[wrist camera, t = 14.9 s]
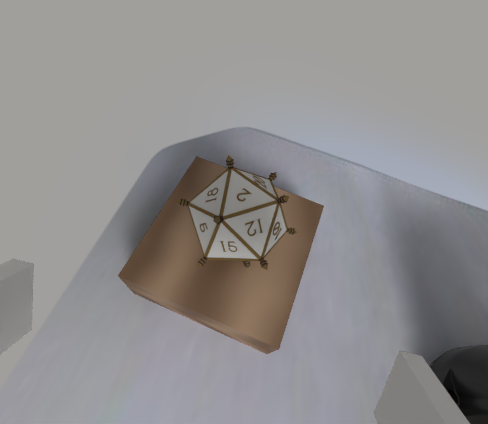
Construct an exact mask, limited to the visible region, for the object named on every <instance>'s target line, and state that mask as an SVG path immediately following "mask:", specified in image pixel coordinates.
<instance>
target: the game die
mask: <svg viewBox="0 0 488 424" xmlns="http://www.w3.org/2000/svg"><path fill="white" fill-rule="evenodd" d="M226 162H227V165H228V168H227V169H226V170H225V171H224V172H223V173H221V174H220V175H219V176H217V178H216V179H214V180H213V181H212V182H211V183H210V184H209V185H207V186H206V187H205V188H204V189H203V190H201V191H200V192H199V193H198V194H197V195H196V196H194V197H193V198H192V199H191V200H190V201H186V200H184V199H179V200H176V201H177V202H178V203H179V204H180V205H183V206H184V205H187V206H188V209H189V212H190V215H191V219H192V222H193V225H194V228H195V231H196V234H197V237H198V240H199V243H200V247H201V250H202V253H203V256H204V257H203V258H202V259H200V261H198V266H197V268H198V267H201V266H204V264H206V263H205V262H206V260H207V259H209V260H235V261H244V266H246V267H247V268H249V266H250V261H260V265H261V267H262V268H263V269H265V270H267V268H268V263H267V261H265V260H264V258H265V257H266V255H267V254H268V253H269V252H270V251H271V250H272V248H273V247H274V246H275V245H276V244H277V243H278V241H279V240H280V239H281V238H282V237H283V236H284V234H285V233H286V232H288V233H289V234H292V235H293V234H295V233H297V231H296V230H295V228H288V227H287V223H286V219H285V216H284V212H283V209H282V205H281V203H285V202H286V203H287V201H288V199H289V197H288V196H285V195H283V196H281V197H280V198H279V197H278V194H277V192H276V190H275V188H274V185H273V183H272V180H274V179H275V178H276V173H271V175H269V178H268V179H267V178H264V177H261V176H258V175H255V174H252V173H249V172H246V171H243V170H240V169H237V168H234V167H233V164H234V163H233V159H232V158H231V157H230V156H229V155H228V158H227V160H226Z"/></svg>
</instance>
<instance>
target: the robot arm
mask: <svg viewBox="0 0 488 424" xmlns="http://www.w3.org/2000/svg"><path fill="white" fill-rule="evenodd" d="M33 270H34V264H33V263H28V262H24V261H20V260H16V259H12V260H10V261H7V262H5V263H3V264H1V265H0V355H1V354H2V353H3V352H4V351H6V350H7V349H8V348H9V347H10V346H12V345H13V344H14V343H15V342H17V341H18V340H19V339H20V338H22V337H23V336H24V335H25V334H27V333H28V332H29V331H30V330H31V329H32V302H33V298H32V297H33ZM374 414H375V417H376V419H377V422H378V424H488V345H478V346H470V347H462V348H457V349H453V350H451V351H449V352H446V353H445V354H443V355H442V356H440V357H439V358H438V359H437V360H436V361H435V362H434V363H433V364H432V365H431V366H430V367H429V365H428V364H427V362H426V361H425V360H424V358H423V357H422V356H420V355H416V354H412V353H408V352H403V351H399V354H398V356H397V359H396V361H395V363H394V366H393V368H392V371H391V373H390V375H389V378H388V380H387V382H386V385H385V387H384V390H383V392H382V394H381V397H380V399H379V402H378V404H377V406H376V409H375V411H374Z"/></svg>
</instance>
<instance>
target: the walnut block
mask: <svg viewBox="0 0 488 424" xmlns="http://www.w3.org/2000/svg"><path fill="white" fill-rule="evenodd" d="M226 169H227V168H225V167H223V166H220V165H218V164H215V163H212V162H210V161H207V160H205V159H202V158H200V157H197V156H196V158H195V159H194V161H193V163H192V164H191V166H190V167H189V169H188V170H187V172H186V173H185V175H184V176H183V178H182V179H181V181H180V182H179V184H178V185H177V187H176V188H175V190H174V191H173V193H172V194H171V196H170V197H169V199H168V201H167V202H166V204H165V205H164V207H163V208H162V210H161V211H160V213H159V214H158V216H157V217H156V219H155V220H154V222H153V223H152V225H151V226H150V228H149V229H148V231H147V232H146V234H145V235H144V237H143V239H142V240H141V242H140V243H139V245H138V246H137V248H136V249H135V251H134V252H133V254H132V255H131V257H130V258H129V260H128V261H127V263H126V264H125V266H124V267H123V269H122V270H121V272H120V273H119V275H118V276H119V277H120V279H121V280H122V281H123V282H124V283H125V284H126V285H127V286H128V287H129V288H130V290H131V291H132V292H133V293H135V294H137V295H139V296H141V297H143V298H145V299H148V300H150V301H152V302H154V303H156V304H158V305H161V306H163V307H165V308H167V309H169V310H172V311H174V312H176V313H178V314H180V315H182V316H185V317H187V318H189V319H191V320H193V321H196V322H198V323H200V324H202V325H204V326H206V327H209V328H211V329H213V330H215V331H217V332H220V333H222V334H224V335H226V336H228V337H230V338H233V339H235V340H237V341H239V342H241V343H244V344H246V345H248V346H250V347H252V348H254V349H257V350H259V351H261V352H263V353H265V354H269V353H271V352H273V351H275V350H278V349H279V347H280V344H281V341H282V338H283V334H284V331H285V328H286V325H287V322H288V319H289V315H290V312H291V309H292V306H293V303H294V299H295V296H296V293H297V290H298V287H299V284H300V280H301V277H302V274H303V271H304V268H305V264H306V261H307V258H308V255H309V252H310V248H311V245H312V242H313V239H314V236H315V233H316V229H317V226H318V223H319V220H320V217H321V213H322V210H323V207H324V206H323V205H320V204H318V203H315V202H313V201H310V200H307V199H305V198H302V197H300V196H297V195H295V194H292V193H289V192H287V191H284V190H282V189H279V188H277V187H274V188H275V190H276V192H277V194H278V197H279V198H280V197H281V196H283V195H285V196H288V197H289V199H288V201H287V203H286V202H285V203H281V205H282V209H283V212H284V216H285V219H286V223H287V227H288V228H295V230H296V231H297V233H295V234H293V235H292V234H289V233H288V232H286V233H285V234H284V236H283V237H282V238H281V239H280V240H279V241H278V243H277V244H276V245H275V246H274V247H273V248H272V250H271V251H270V252H269V253H268V254H267V255H266V257H265V258H264V260H265V261H267V263H268V268H267V270H265V269H263V268H262V267H261V265H260V261H250V266H249V268H247V267H246V266H244V261H235V260H209V259H207V260H206V262H205V263H206V264H204V266H201V267H198V268H197V266H198V261H200V259H202V258H203V257H204V256H203V253H202V250H201V247H200V243H199V240H198V237H197V234H196V231H195V228H194V225H193V222H192V219H191V215H190V212H189V209H188V206H187V205H184V206H183V205H180V204H179V203H178V202H177V201H176V200H179V199H184V200H186V201H190V200H191V199H192V198H193V197H194V196H196V195H197V194H198V193H199V192H200V191H201V190H203V189H204V188H205V187H206V186H207V185H209V184H210V183H211V182H212V181H213V180H214V179H216V178H217V176H219V175H220V174H221V173H223V172H224V171H225V170H226Z"/></svg>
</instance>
